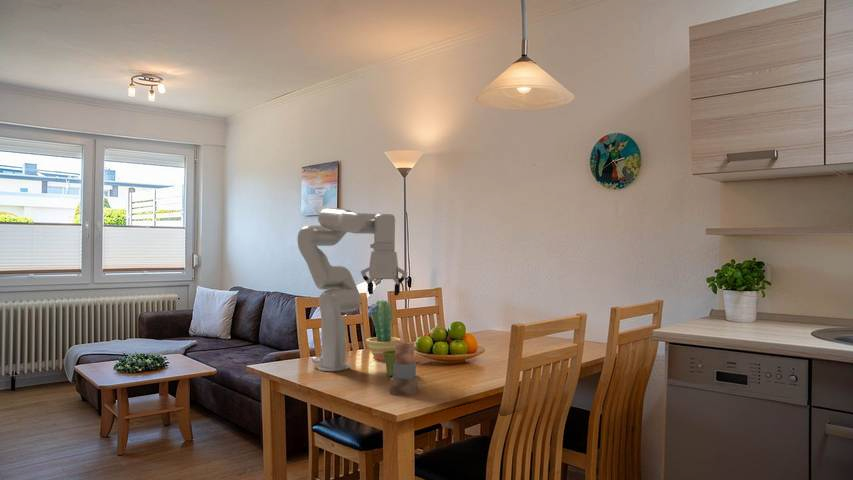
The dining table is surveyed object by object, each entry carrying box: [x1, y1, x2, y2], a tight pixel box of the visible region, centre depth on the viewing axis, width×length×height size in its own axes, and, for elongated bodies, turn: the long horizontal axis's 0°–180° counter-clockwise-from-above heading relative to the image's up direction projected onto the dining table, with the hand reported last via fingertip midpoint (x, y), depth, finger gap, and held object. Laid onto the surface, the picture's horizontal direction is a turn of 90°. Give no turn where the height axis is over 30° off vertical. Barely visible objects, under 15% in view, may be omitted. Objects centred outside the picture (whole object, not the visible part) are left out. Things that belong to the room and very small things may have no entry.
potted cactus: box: [365, 300, 402, 361], centre depth 256 cm, size 15×15×25 cm
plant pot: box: [383, 350, 395, 377], centre depth 222 cm, size 9×9×9 cm
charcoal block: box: [392, 360, 417, 380], centre depth 197 cm, size 6×6×5 cm
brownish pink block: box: [395, 342, 415, 364], centre depth 198 cm, size 5×5×6 cm
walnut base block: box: [389, 374, 419, 396], centre depth 197 cm, size 8×8×5 cm
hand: (383, 294), depth 214 cm, fingers open, 9 cm apart
